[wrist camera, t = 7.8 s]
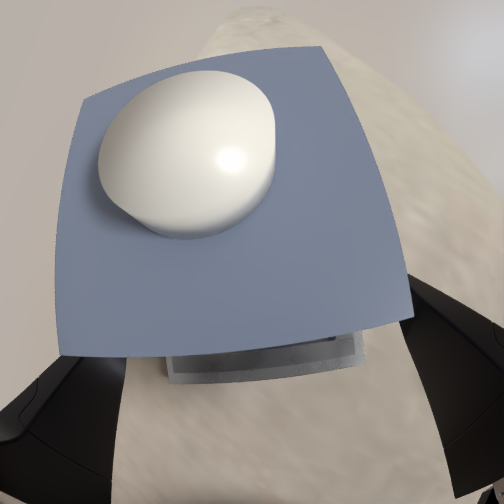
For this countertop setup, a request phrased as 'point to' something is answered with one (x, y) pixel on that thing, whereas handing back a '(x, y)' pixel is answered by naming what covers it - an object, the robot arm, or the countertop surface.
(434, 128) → the countertop surface
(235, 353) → the grey square tray
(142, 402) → the countertop surface
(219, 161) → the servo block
